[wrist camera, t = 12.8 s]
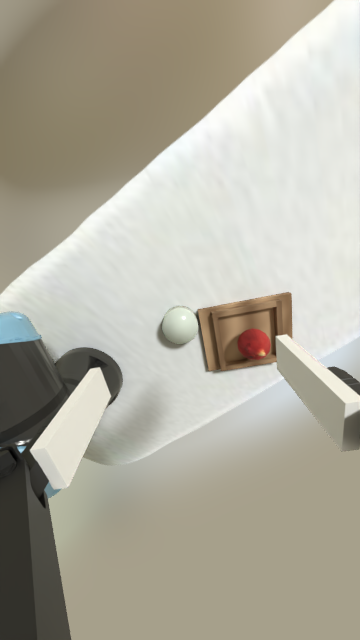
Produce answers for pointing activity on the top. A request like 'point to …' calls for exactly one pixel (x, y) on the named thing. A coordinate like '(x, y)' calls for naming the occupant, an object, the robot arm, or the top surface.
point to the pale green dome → (180, 325)
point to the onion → (254, 344)
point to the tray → (243, 329)
